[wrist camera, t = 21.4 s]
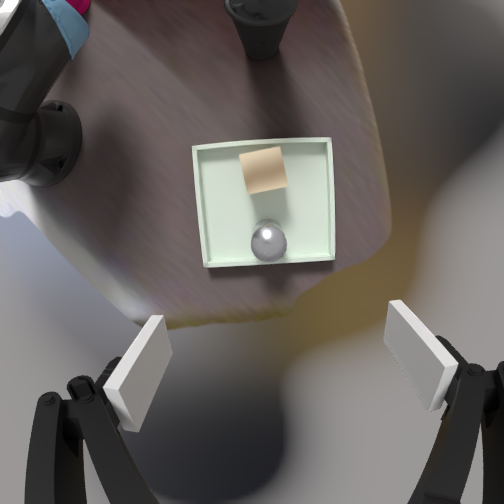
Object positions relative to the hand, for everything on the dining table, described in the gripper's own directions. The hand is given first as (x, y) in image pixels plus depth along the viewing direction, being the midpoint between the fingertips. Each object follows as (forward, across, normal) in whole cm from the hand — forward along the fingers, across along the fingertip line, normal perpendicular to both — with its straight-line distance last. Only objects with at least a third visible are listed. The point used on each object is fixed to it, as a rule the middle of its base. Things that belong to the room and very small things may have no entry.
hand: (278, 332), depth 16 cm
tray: (+27, 0, +4) cm, 27 cm away
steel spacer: (+26, 0, 0) cm, 26 cm away
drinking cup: (+27, +1, +28) cm, 39 cm away
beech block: (+26, 0, +9) cm, 28 cm away
